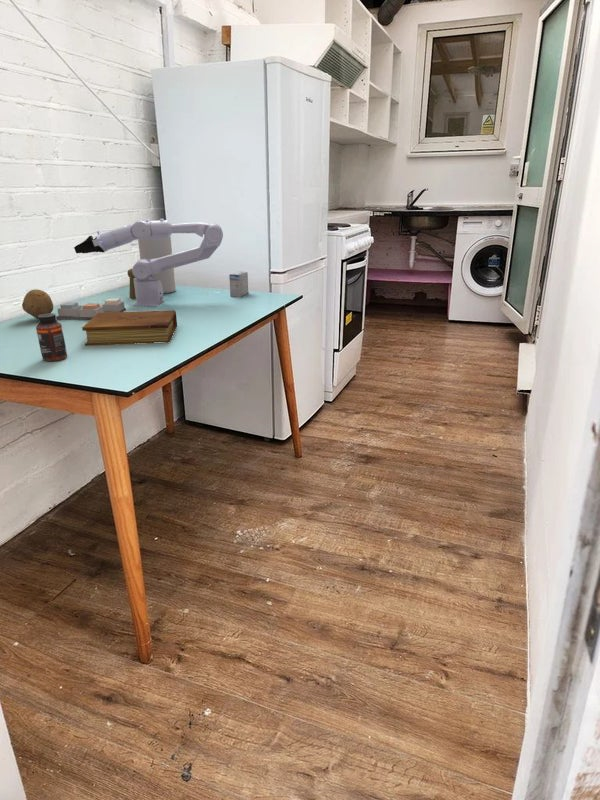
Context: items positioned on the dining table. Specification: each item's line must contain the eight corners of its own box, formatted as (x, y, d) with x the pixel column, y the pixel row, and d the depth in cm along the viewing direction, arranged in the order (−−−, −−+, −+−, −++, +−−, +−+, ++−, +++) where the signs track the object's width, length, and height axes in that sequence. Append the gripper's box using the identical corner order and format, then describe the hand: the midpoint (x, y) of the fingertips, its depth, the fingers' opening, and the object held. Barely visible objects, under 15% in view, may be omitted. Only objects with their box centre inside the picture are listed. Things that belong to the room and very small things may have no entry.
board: (126, 310, 188) (124, 301, 187) (109, 319, 175) (108, 310, 174) (76, 309, 190) (75, 300, 188) (56, 319, 177) (55, 309, 176)
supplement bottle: (71, 355, 140) (64, 312, 136) (61, 362, 134) (53, 317, 130) (49, 355, 140) (40, 312, 136) (38, 362, 135) (28, 317, 130)
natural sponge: (19, 323, 172) (13, 292, 168) (33, 316, 180) (27, 286, 177) (47, 323, 172) (41, 292, 168) (60, 316, 180) (54, 286, 176)
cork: (143, 299, 206) (139, 269, 202) (127, 299, 206) (123, 270, 202) (147, 295, 212) (144, 267, 207) (132, 296, 212) (128, 267, 207)
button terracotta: (100, 310, 180) (99, 303, 179) (95, 313, 176) (94, 305, 175) (88, 310, 180) (87, 303, 179) (83, 313, 176) (82, 305, 175)
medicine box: (238, 293, 215) (237, 271, 212) (248, 293, 214) (247, 271, 211) (230, 296, 208) (228, 274, 205) (240, 297, 207) (239, 274, 204)
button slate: (78, 309, 181) (77, 302, 180) (73, 312, 177) (71, 305, 177) (67, 309, 181) (66, 302, 181) (61, 312, 178) (60, 305, 177)
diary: (177, 328, 167) (175, 309, 165) (169, 344, 150) (168, 324, 148) (101, 329, 165) (98, 311, 163) (85, 347, 148) (81, 326, 146)
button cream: (121, 305, 187) (120, 298, 186) (116, 307, 183) (115, 300, 182) (110, 305, 187) (109, 298, 186) (105, 307, 183) (104, 300, 182)
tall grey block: (172, 294, 214) (165, 228, 204) (140, 294, 214) (132, 229, 204) (178, 288, 225) (172, 226, 216) (148, 289, 225) (141, 226, 216)
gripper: (115, 227, 193) (79, 239, 192) (106, 225, 179) (67, 238, 179) (123, 247, 195) (87, 259, 194) (114, 246, 181) (76, 259, 181)
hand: (78, 250), depth 187 cm, fingers open, 7 cm apart
